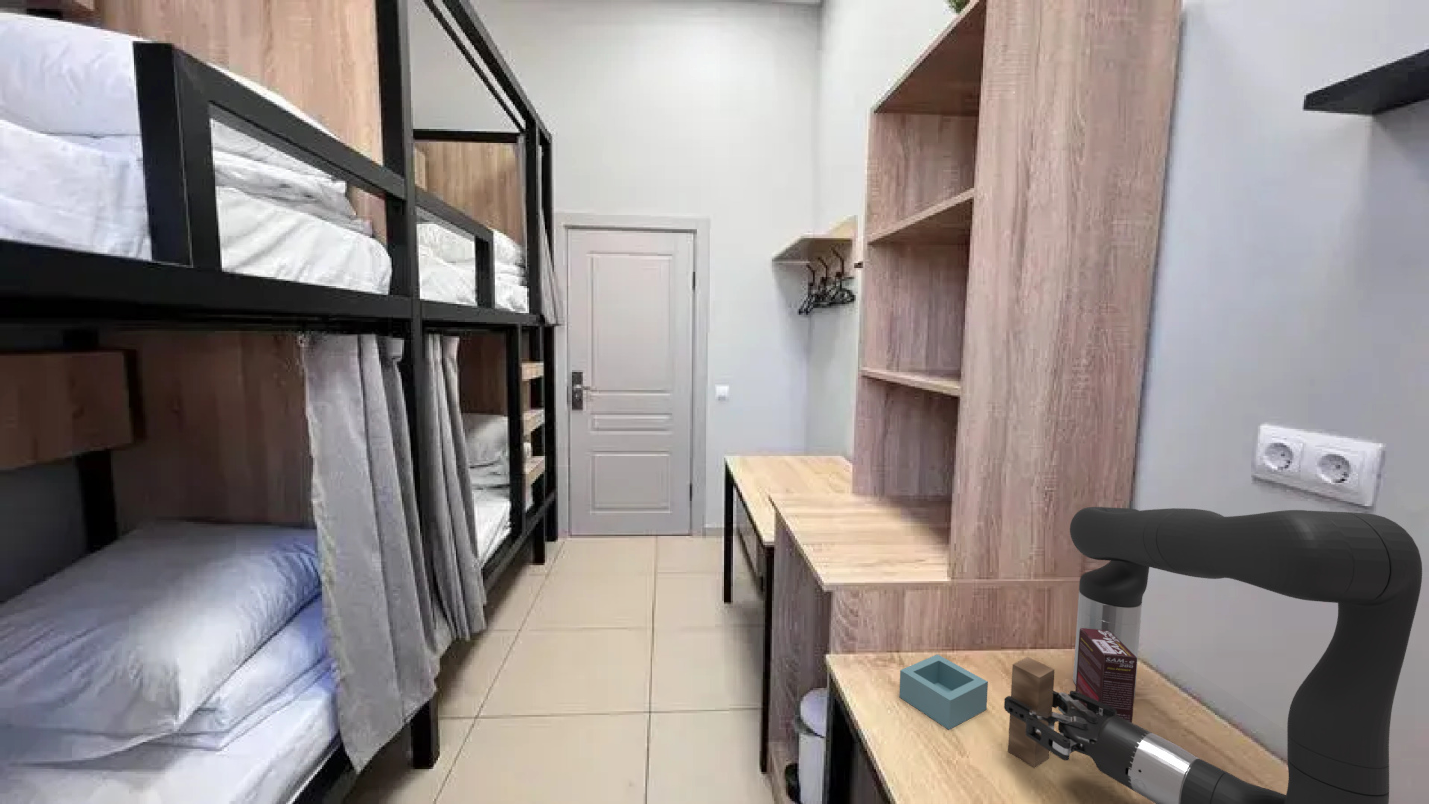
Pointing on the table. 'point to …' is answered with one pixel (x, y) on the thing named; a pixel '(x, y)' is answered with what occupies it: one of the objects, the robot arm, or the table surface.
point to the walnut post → (1036, 692)
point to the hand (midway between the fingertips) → (1019, 695)
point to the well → (943, 691)
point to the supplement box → (1106, 671)
